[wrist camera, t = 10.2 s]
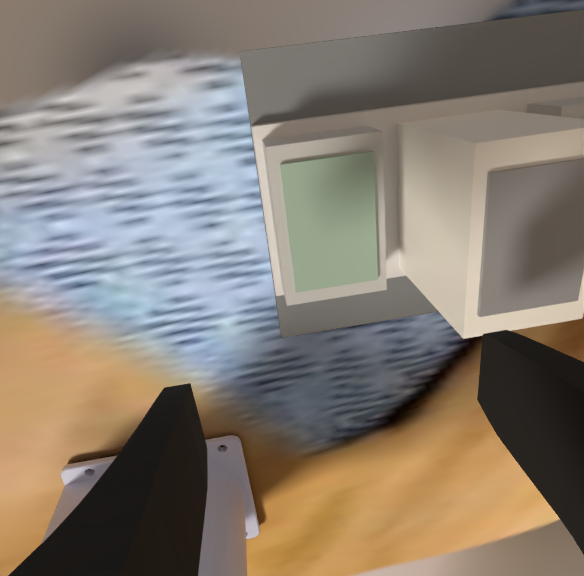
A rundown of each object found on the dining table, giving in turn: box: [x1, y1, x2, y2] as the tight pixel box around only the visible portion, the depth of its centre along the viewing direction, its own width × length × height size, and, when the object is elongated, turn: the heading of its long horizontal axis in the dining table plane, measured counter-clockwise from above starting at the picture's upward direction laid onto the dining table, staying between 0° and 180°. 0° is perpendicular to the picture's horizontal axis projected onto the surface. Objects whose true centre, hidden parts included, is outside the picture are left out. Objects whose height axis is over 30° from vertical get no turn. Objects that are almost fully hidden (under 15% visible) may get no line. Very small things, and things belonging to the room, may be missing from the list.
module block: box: [397, 110, 584, 339], centre depth 16 cm, size 4×6×6 cm, turn 7°
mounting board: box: [240, 9, 584, 338], centre depth 18 cm, size 15×12×4 cm
